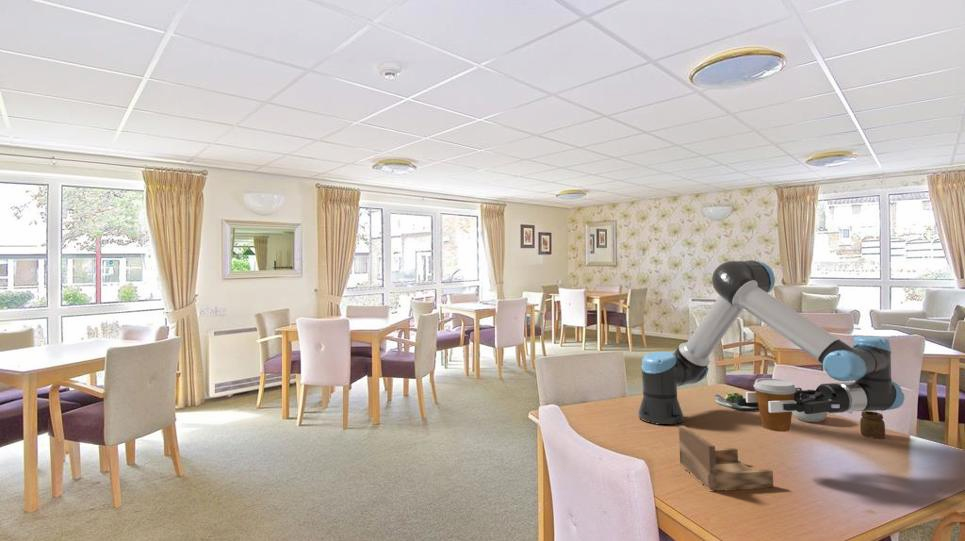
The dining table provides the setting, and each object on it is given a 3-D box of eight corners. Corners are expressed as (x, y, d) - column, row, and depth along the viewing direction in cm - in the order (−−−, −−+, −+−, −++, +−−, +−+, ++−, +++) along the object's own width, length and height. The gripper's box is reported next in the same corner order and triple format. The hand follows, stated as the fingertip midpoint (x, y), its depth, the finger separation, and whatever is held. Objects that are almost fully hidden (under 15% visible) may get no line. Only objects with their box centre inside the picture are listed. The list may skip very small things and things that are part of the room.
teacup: (834, 425, 155) (833, 401, 155) (798, 424, 157) (797, 400, 157) (813, 412, 169) (812, 390, 169) (780, 411, 171) (780, 390, 171)
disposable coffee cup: (746, 423, 125) (745, 378, 126) (779, 420, 126) (778, 377, 126) (771, 435, 116) (770, 387, 116) (807, 432, 117) (805, 385, 117)
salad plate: (701, 402, 188) (700, 390, 188) (731, 395, 195) (731, 385, 195) (745, 414, 170) (744, 402, 170) (776, 407, 177) (776, 395, 177)
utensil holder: (879, 440, 141) (878, 401, 141) (855, 434, 146) (854, 396, 146) (889, 436, 143) (887, 398, 143) (865, 430, 149) (863, 393, 149)
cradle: (735, 462, 128) (734, 422, 128) (773, 487, 113) (771, 442, 113) (680, 465, 127) (678, 425, 127) (710, 491, 112) (709, 446, 112)
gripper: (876, 424, 112) (787, 429, 110) (809, 400, 133) (733, 404, 131) (875, 393, 112) (786, 398, 110) (808, 374, 133) (732, 378, 131)
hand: (757, 402), depth 121 cm, fingers closed on disposable coffee cup, 8 cm apart
